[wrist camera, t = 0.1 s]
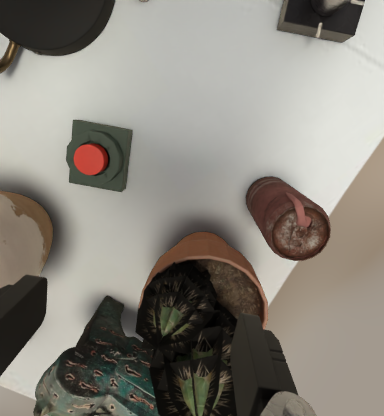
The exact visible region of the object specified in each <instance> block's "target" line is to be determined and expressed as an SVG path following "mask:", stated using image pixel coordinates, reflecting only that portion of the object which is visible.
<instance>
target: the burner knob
mask: <svg viewBox="0 0 384 416" xmlns="http://www.w3.org/2000/svg"><path fill="white" fill-rule="evenodd" d="M349 1H351V0H311V4H312V7H313V9H314V11H315V12H316V13H318V14H319V15H322V16H330V15H333V14H335V13H336V12H337V11H339V10H340V9H341V8H342V7H343V6H345V5H346V4H347V3H348V2H349Z"/></svg>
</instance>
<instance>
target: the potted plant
mask: <svg viewBox="0 0 384 416" xmlns="http://www.w3.org/2000/svg"><path fill="white" fill-rule="evenodd" d="M240 313H246V314H252V315H258V316H259V317H260V320H261V323H262V327H263V330H264V329H265V326H266V324H267V321H268V302H267V299H266V297H265V294H264V292H263V289H262V287H261V284H260V282H259V280H258V278H257V276H256V274H255V272H254V270H253V267H252V265H251V264H250V263H249V262H248V261H247V260H246V258H245V257H244V256H243V255H242V254H241V253H240V252H239V251H237V250H235V249H233V248H232V247H230V246H229V245H228V244H227V243H226V242H225V241H224V240H223V239H222V238H221V237H219V236H217V235H216V234H213V233H209V232H195V233H192V234H190V235H187V236H186V237H184V238H183V239H182V240H181V241H179V242H178V244H177V245H176V246H174V247H173V248H171V249H170V250H169V251H167V252H166V253H165V254H164V255H162V256H161V257H160V258H159V260H158V261H157V263H156V264H155V266H154V268H153V269H152V271H151V273H150V275H149V277H148V279H147V282H146V284H145V286H144V288H143V291H142V294H141V299H140V303H139V308H138V315H137V324H136V333H137V334H138V335H140V336H141V337H142V338H144V339H143V343H142V347H141V348H145V349H153V351H154V352H153V356H152V360H151V365H150V367H149V371H150V376H151V381H152V386H153V390H154V395H155V400H156V405H157V410H158V415H160V416H237V409H236V401H235V393H234V385H233V377H232V369H231V361H230V351H231V344H232V340H233V336H234V332H235V328H236V325H237V321H238V317H239V314H240Z"/></svg>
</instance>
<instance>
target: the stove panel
mask: <svg viewBox="0 0 384 416" xmlns="http://www.w3.org/2000/svg"><path fill="white" fill-rule="evenodd" d="M364 2H365V0H351V1H349V2H348V3H347V4H346V5H345V6H343V7H342V8H341V9H340V10H339V11H337V12H336V13H335V14H333V15H330V16H322V15H319V14H318V13H316V12H315V11H314V9H313V7H312V4H311V0H284V1H283V5H282V9H281V14H280V18H279V22H278V27H277V30H281V31H286V32H291V33H296V34H301V35H306V36H311V37H316V38H321V39H326V40H331V41H336V42H341V43H342V42H344V41H346V40H347V39H349V38H351V37H353V36H354V35H355V32H356V29H357V25H358V22H359V19H360V15H361V12H362V9H363V6H364Z"/></svg>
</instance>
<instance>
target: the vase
mask: <svg viewBox="0 0 384 416" xmlns="http://www.w3.org/2000/svg"><path fill="white" fill-rule="evenodd" d="M52 239H53V226H52V222H51V220H50V217H49V215H48V214H47V212H46V211H45V210H44V208H43V207H42V206H41V205H40V204H38V203H37V202H35V201H34V200H32V199H30V198H28V197H25V196H23V195H20V194H16V193H11V192H5V191H0V288H2V287H4V286H6V285H8V284H10V285H14V284H15V283H16V282H17V281H19V280H20V279H21V278H22V277H23V276H24V275H27V274H28V275H34V276H39V275H40V273H41V271H42V269H43V267H44V265H45V263H46V260H47V258H48V255H49V251H50V248H51V244H52Z"/></svg>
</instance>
